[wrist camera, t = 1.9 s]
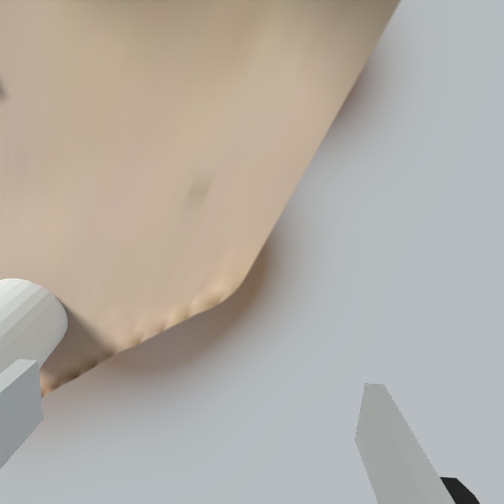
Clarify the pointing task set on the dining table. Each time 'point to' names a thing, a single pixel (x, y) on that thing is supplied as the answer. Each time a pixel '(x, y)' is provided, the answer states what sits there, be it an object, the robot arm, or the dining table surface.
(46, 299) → the bottle
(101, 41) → the dining table surface
